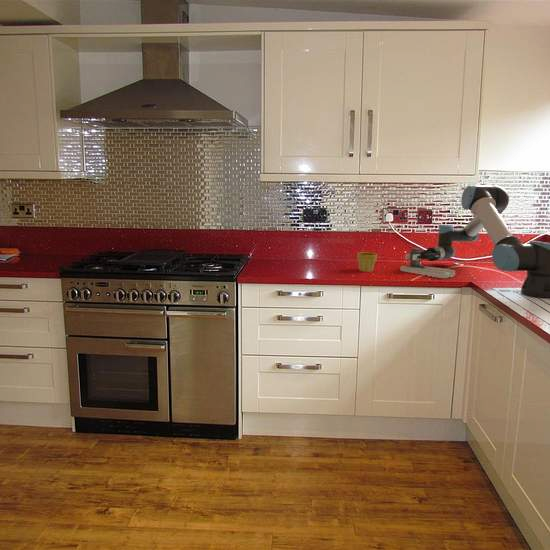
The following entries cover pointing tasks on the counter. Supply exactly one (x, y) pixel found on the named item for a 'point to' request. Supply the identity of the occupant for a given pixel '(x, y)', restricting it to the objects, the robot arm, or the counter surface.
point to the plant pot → (366, 261)
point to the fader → (415, 262)
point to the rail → (430, 271)
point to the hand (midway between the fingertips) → (409, 257)
